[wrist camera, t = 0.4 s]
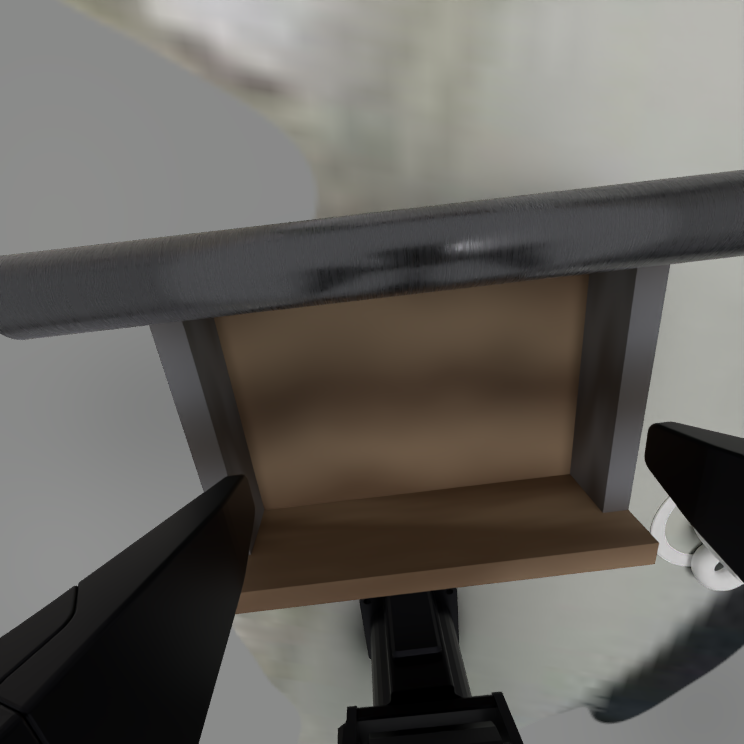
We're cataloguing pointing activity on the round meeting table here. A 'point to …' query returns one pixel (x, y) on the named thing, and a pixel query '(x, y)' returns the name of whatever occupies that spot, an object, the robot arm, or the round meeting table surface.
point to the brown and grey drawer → (426, 433)
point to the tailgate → (372, 255)
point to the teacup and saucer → (699, 561)
